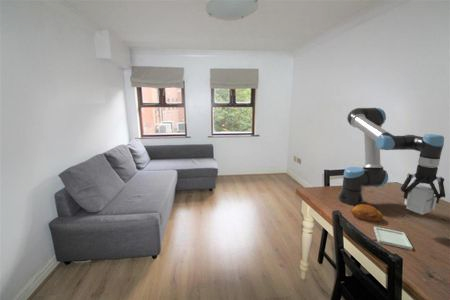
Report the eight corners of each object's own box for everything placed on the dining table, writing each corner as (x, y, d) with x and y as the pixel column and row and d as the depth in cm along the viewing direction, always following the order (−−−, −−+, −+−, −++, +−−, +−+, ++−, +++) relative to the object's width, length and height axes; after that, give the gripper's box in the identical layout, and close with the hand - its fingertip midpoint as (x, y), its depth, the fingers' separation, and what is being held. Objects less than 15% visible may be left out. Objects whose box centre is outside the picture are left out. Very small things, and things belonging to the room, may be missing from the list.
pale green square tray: (373, 228, 117) (373, 226, 116) (403, 234, 111) (404, 232, 111) (378, 242, 105) (378, 240, 105) (412, 250, 100) (412, 247, 99)
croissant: (381, 228, 121) (385, 216, 119) (350, 217, 128) (353, 206, 126) (378, 216, 133) (382, 205, 131) (350, 207, 140) (353, 196, 138)
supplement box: (422, 215, 108) (428, 191, 105) (405, 208, 115) (410, 186, 112) (430, 212, 111) (436, 189, 108) (413, 205, 118) (418, 184, 115)
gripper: (401, 164, 109) (394, 205, 114) (462, 170, 99) (451, 214, 104) (397, 161, 115) (390, 199, 120) (454, 166, 106) (444, 207, 111)
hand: (418, 206), depth 112 cm, fingers closed on supplement box, 10 cm apart
